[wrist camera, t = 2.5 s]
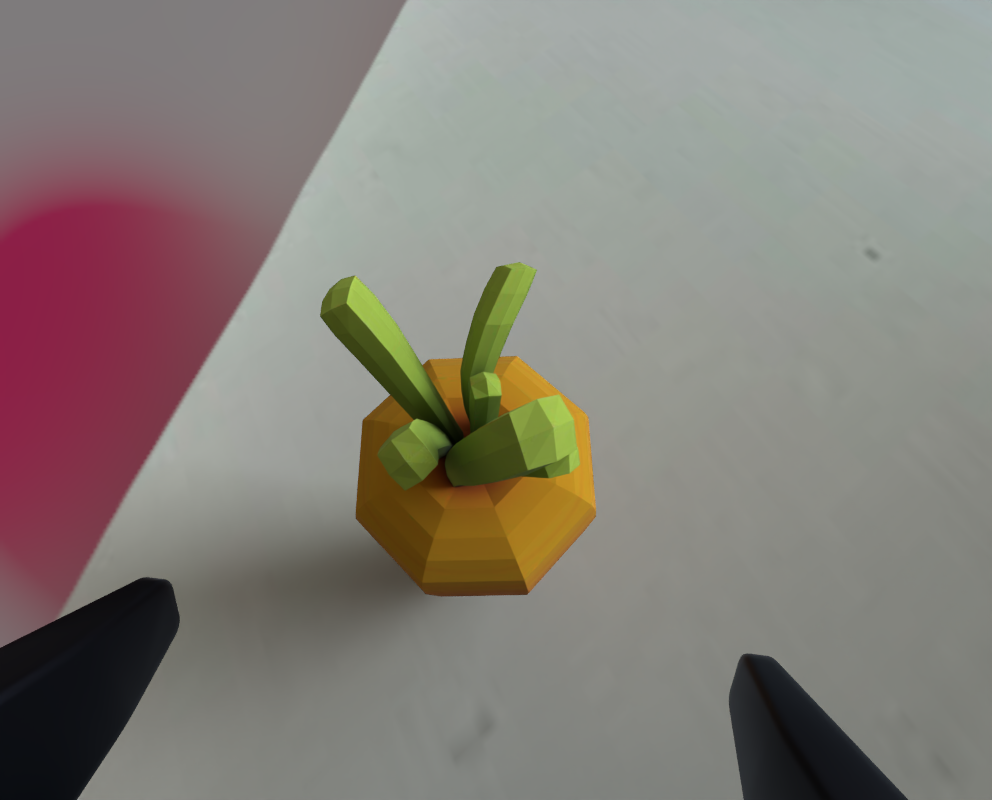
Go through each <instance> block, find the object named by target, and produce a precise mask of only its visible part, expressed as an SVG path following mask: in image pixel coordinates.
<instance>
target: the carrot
mask: <svg viewBox="0 0 992 800" xmlns="http://www.w3.org/2000/svg"><path fill="white" fill-rule="evenodd" d="M536 271H537V270H536V269H534V268H532V267H529V266H527V265H525V264H522V263H520V262H518V263H513V264H508V265H504V266H499V267H496V269H495V271H494V272H493V274H492V276H491V278H490V280H489V281H488V283H487V285H486V287H485V289H484V292H483V294H482V296H481V299H480V301H479V304H478V306H477V308H476V311H475V313H474V316H473V320H472V323H471V327H470V331H469V334H468V338H467V341H466V345H465V350H464V355H463V358H456V359H430V360H428V361H427V362H426V363H425V364H423V365H422V364H421V363H420V361H419V359H418V358H417V356H416V354H415V353H414V351H413V350H412V348H411V346H410V345H409V343H408V342H407V340H406V338H405V337H404V335H403V333H402V332H401V330H400V329H399V327H398V325H397V324H396V323H395V321H394V320H393V319H392V317H391V316H390V315H389V313H388V312H387V311H386V310H385V308H384V307H383V306H382V304H381V303H380V302H379V300H378V299H377V298H376V296H375V295H374V294H373V293H372V292H371V291H370V290H369V289H368V288H367V287H366V286H365V285H364V284H363V283H362V282H361V281H360V280H359V279H358V278H357V277H356V276H352V277H348V278H344V279H341V280H340V281H339V282H337V283H336V284H335V285H334V286H333V287H332V288H330V289H329V291H328V293H327V294H326V296H325V298H324V299H323V301H322V307H321V314H320V317H321V318H322V319H323V321H324V322H325V323H326V325H327V326H328V327H329V328H330V330H331V331H332V332H333V334H334V335H335V336H336V337H337V338H338V339H339V340H340V341H341V342H342V343H343V344H344V346H345V347H346V348H347V349H348V350H349V351H350V352H351V353H352V354H353V355H354V356H355V357H356V358H357V359H358V360H359V361H360V362H361V364H362V365H363V366H364V367H365V368H366V369H367V370H368V371H369V372H370V373H371V374H372V375H373V376H374V378H375V379H376V380H377V381H378V382H379V383H380V384H381V385H382V386H383V387H384V388H385V389H386V391H387V392H388V393H389V394H390V396H389V397H388V398H386V399H385V400H384V401H383V402H382V403H381V404H380V405H379V406H378V407H377V408H376V409H374V410H373V411H372V412H371V413H370V414H369V415H368V416H367V417H366V418H365V419H364V420H363V423H362V436H361V450H360V463H359V476H358V489H357V502H356V519H357V520H358V522H359V523H360V524H361V525H362V526H363V527H364V528H365V529H366V530H367V531H368V532H369V533H370V535H371V536H372V537H373V538H374V539H375V540H376V541H377V542H378V543H379V544H380V545H381V546H382V547H383V548H384V550H385V551H386V552H387V553H388V554H389V555H390V556H391V557H392V558H393V559H394V560H395V561H396V562H397V564H398V565H399V566H400V567H401V568H402V569H403V570H404V571H405V572H406V573H407V574H408V575H409V576H410V577H411V579H412V580H413V581H414V582H415V583H416V584H417V585H418V586H419V587H420V588H421V589H422V590H423V591H424V593H425V594H429V595H436V596H486V595H527V594H528V593H529V592H530V591H531V590H532V589H533V588H534V586H535V585H536V584H537V583H538V582H539V581H540V580H541V579H542V578H543V576H544V575H545V574H546V573H547V572H548V571H549V570H550V569H551V567H552V566H553V565H554V564H555V563H556V562H557V561H558V560H559V559H560V557H561V556H562V555H563V554H564V553H565V552H566V551H567V550H568V548H569V547H570V546H571V545H572V544H573V543H574V542H575V541H576V540H577V538H578V537H579V536H580V535H581V534H582V533H583V532H584V531H585V529H586V528H587V527H588V526H589V524H590V523H591V522H592V521H593V519H594V518H595V517H596V506H595V493H594V481H593V469H592V457H591V445H590V433H589V421H588V417H587V415H586V414H585V413H584V412H583V411H582V410H581V409H580V408H578V407H577V406H576V405H575V404H574V403H572V402H571V401H570V400H569V399H568V398H566V397H565V396H564V395H563V394H562V393H560V392H559V391H558V390H557V389H556V388H554V387H553V386H552V385H551V384H550V383H548V382H547V381H546V380H545V379H544V378H543V377H541V376H540V375H539V374H538V373H537V372H535V371H534V370H533V369H532V368H531V367H529V366H528V365H527V364H526V363H525V362H523V361H522V360H521V359H520V358H519V357H517V356H509V357H499V356H500V354H501V351H502V349H503V346H504V344H505V342H506V339H507V337H508V335H509V332H510V330H511V327H512V325H513V323H514V321H515V319H516V316H517V314H518V312H519V310H520V308H521V306H522V304H523V302H524V300H525V298H526V296H527V293H528V291H529V288H530V286H531V284H532V281H533V279H534V276H535V274H536Z"/></svg>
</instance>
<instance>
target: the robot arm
mask: <svg viewBox="0 0 992 800" xmlns="http://www.w3.org/2000/svg"><path fill="white" fill-rule="evenodd" d="M179 623H180V616H179V612H178V607H177V603H176V599H175V595H174V590H173V587H172V584H171V583H170V582H169V581H168V580H165V579H158V578H150V577H144V578H140V579H138V580H136V581H134V582H132V583H130V584H128V585H126V586H124V587H122V588H120V589H118V590H116V591H114V592H112V593H110V594H108V595H106V596H104V597H102V598H100V599H98V600H96V601H94V602H92V603H90V604H88V605H86V606H84V607H82V608H80V609H78V610H76V611H74V612H72V613H70V614H68V615H65V616H63V617H61V618H59V619H57V620H55V621H54V622H51V623H49V624H47V625H45V626H44V627H41V628H39V629H37V630H35V631H34V632H31V633H30V634H27V635H25V636H23V637H21V638H19V639H17V640H15V641H13V642H11V643H9V644H7V645H5V646H3V647H1V648H0V800H77V799H78V797H79V796H80V794H81V793H82V791H83V790H84V788H85V787H86V785H87V784H88V782H89V781H90V779H91V778H92V776H93V775H94V773H95V772H96V770H97V769H98V767H99V766H100V764H101V763H102V761H103V760H104V758H105V757H106V755H107V754H108V752H109V751H110V749H111V748H112V746H113V745H114V743H115V742H116V740H117V738H118V737H119V735H120V734H121V732H122V731H123V729H124V727H125V726H126V724H127V722H128V721H129V719H130V717H131V715H132V714H133V712H134V710H135V709H136V707H137V705H138V703H139V701H140V699H141V698H142V696H143V694H144V692H145V690H146V688H147V687H148V685H149V683H150V681H151V679H152V677H153V676H154V674H155V672H156V670H157V668H158V666H159V665H160V663H161V661H162V659H163V657H164V655H165V654H166V652H167V650H168V648H169V646H170V644H171V643H172V641H173V639H174V637H175V635H176V633H177V631H178V628H179ZM729 708H730V715H731V721H732V728H733V734H734V740H735V747H736V753H737V760H738V766H739V772H740V779H741V785H742V791H743V798H744V800H908V799H907V798H906V797H905V796H904V795H903V794H902V793H901V792H900V791H899V789H898V788H897V787H896V786H895V785H894V784H893V783H892V782H891V781H890V780H889V779H888V778H887V777H886V776H885V775H884V774H883V773H882V772H881V771H880V769H879V768H878V767H877V766H876V765H875V764H874V763H873V762H872V761H871V760H870V759H869V758H868V757H867V756H866V755H865V754H864V753H863V752H862V751H861V749H860V748H859V747H858V746H857V745H856V744H855V743H854V742H853V741H852V740H851V739H850V738H849V737H848V736H847V735H846V734H845V733H844V732H843V731H842V729H841V728H840V727H839V726H838V725H837V724H836V723H835V722H834V721H833V720H832V719H831V718H830V717H829V716H828V715H827V714H826V713H825V712H824V711H823V709H822V708H821V707H820V706H819V705H818V704H817V703H816V702H815V701H814V700H813V699H812V698H811V697H810V696H809V695H808V694H807V693H806V692H805V691H804V689H803V688H802V687H801V686H800V685H799V684H798V683H797V682H796V681H795V680H794V679H793V678H792V677H791V676H790V675H789V674H788V673H787V672H786V671H785V669H784V668H783V667H782V666H781V665H780V664H779V663H778V662H777V661H776V660H775V659H773V658H772V657H769V656H763V655H756V654H748V653H747V654H743V655H742V656H741V658H740V660H739V663H738V666H737V669H736V673H735V676H734V679H733V683H732V686H731V689H730V694H729Z"/></svg>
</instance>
